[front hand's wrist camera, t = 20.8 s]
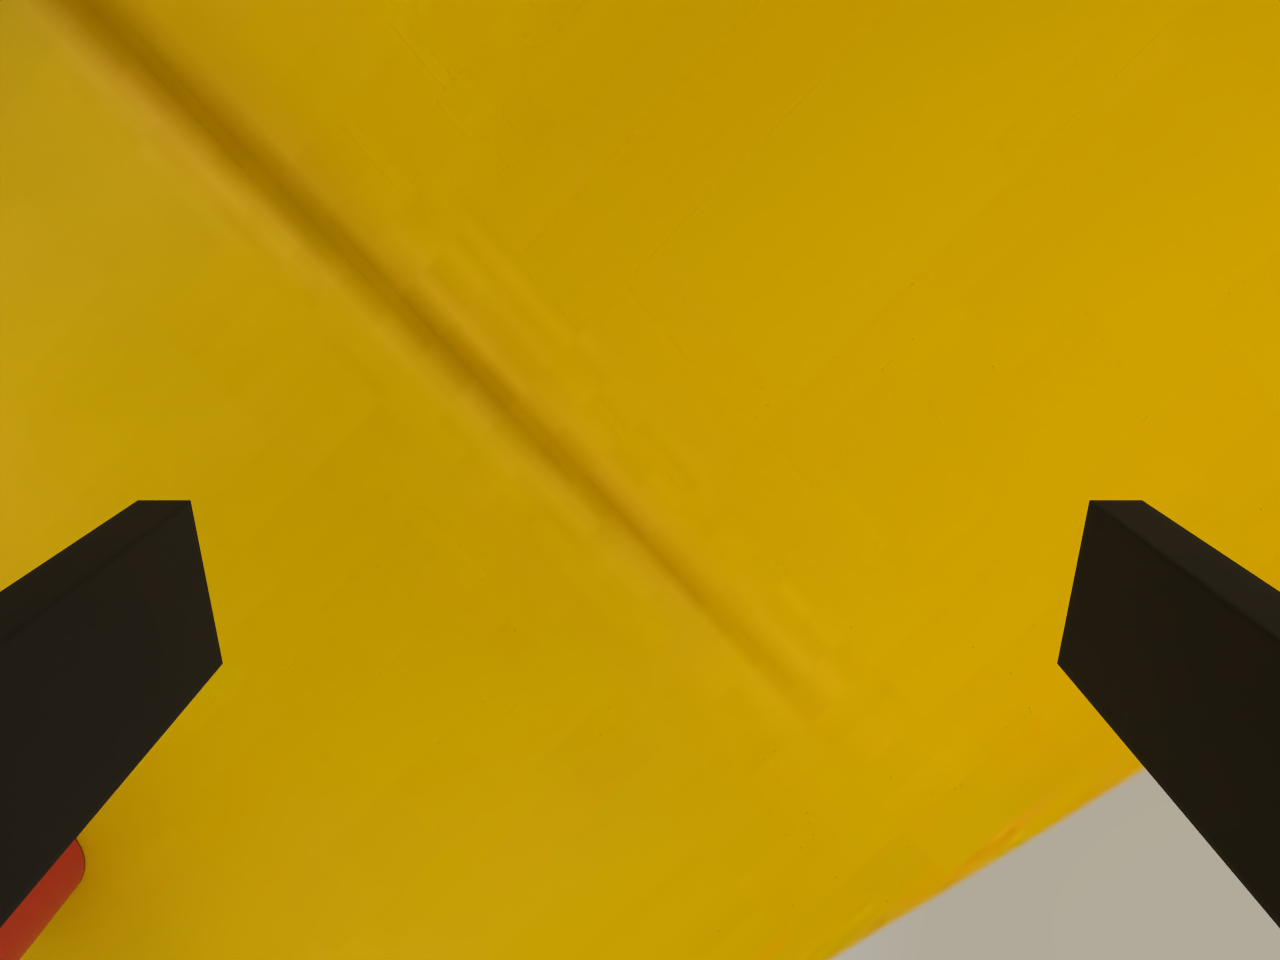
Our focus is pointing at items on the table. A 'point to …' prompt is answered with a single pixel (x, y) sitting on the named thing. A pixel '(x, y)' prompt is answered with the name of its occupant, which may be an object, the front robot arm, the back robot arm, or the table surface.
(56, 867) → the canister
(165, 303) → the table surface
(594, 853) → the table surface
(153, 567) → the front robot arm
